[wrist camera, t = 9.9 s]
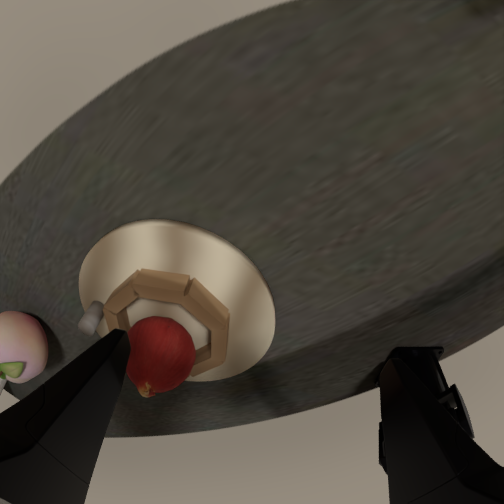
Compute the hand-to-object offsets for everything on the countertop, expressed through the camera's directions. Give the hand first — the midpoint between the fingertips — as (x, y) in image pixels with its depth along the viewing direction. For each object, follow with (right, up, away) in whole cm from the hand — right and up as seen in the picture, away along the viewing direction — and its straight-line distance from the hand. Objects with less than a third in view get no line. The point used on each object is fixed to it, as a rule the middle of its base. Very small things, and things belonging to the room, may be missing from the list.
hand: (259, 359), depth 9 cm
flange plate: (-7, -2, +17) cm, 18 cm away
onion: (-7, -2, +16) cm, 18 cm away
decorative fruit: (-27, -5, +20) cm, 34 cm away
